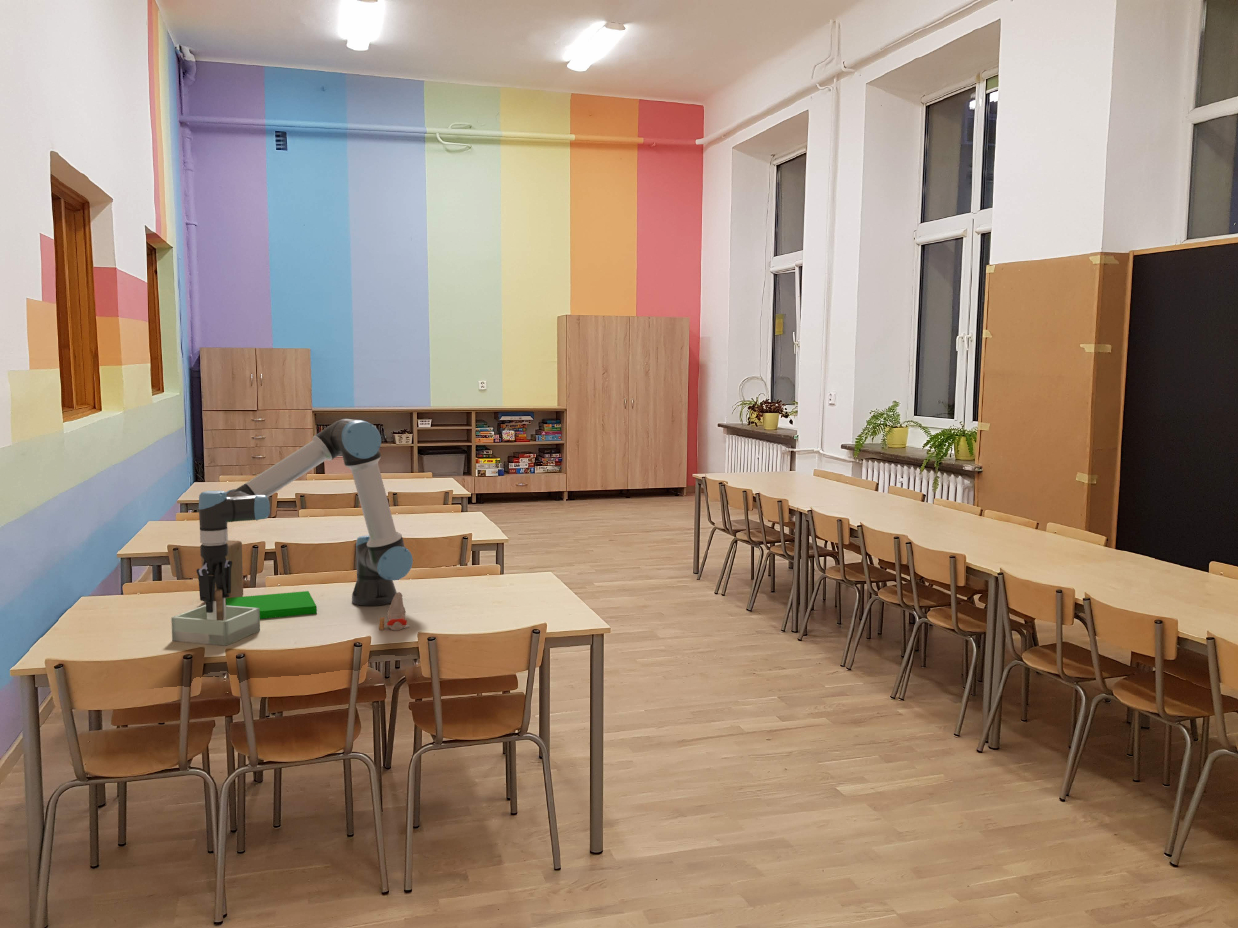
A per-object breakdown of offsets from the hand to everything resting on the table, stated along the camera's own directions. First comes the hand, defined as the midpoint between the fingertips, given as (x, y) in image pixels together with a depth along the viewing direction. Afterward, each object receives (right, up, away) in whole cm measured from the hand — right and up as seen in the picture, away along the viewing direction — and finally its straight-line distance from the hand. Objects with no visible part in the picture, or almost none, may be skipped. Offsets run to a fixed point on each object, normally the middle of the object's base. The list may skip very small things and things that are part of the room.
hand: (216, 620), depth 272 cm
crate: (0, -5, 0) cm, 5 cm away
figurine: (+50, -5, +10) cm, 52 cm away
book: (+4, -2, +30) cm, 31 cm away
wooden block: (-16, 0, +42) cm, 45 cm away
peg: (0, -3, 0) cm, 3 cm away
